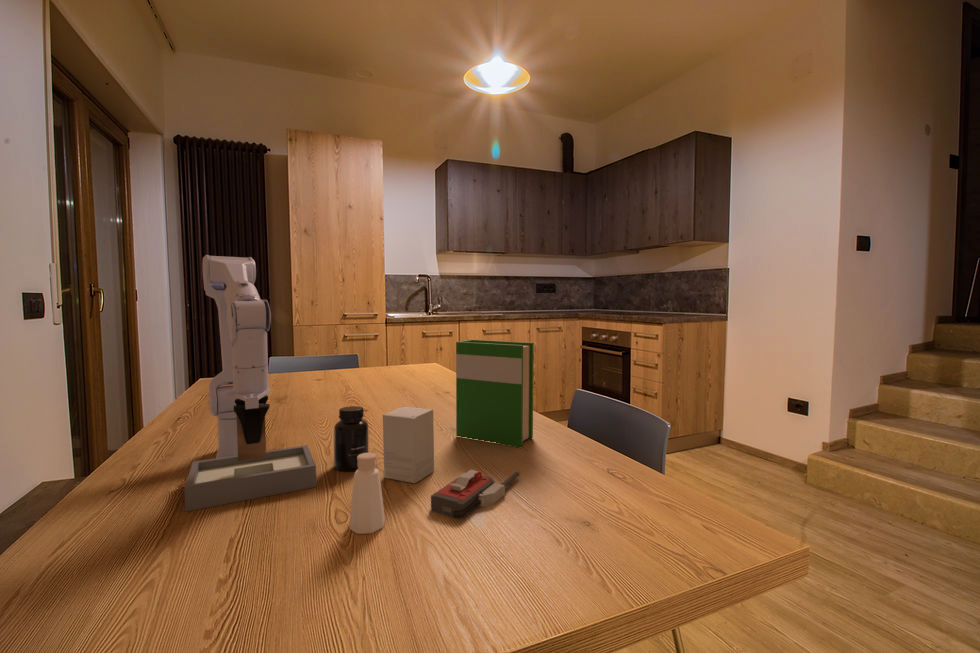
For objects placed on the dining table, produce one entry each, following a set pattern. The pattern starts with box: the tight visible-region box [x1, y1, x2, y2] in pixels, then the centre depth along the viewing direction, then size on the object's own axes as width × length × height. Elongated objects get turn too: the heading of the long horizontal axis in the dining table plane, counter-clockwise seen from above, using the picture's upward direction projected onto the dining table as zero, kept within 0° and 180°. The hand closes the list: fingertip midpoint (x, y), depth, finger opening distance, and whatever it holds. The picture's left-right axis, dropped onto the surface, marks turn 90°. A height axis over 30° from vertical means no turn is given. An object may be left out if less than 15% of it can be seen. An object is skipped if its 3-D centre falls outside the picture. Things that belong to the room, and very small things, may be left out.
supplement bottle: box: [333, 405, 370, 472], centre depth 92 cm, size 7×7×12 cm
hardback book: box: [455, 339, 535, 448], centre depth 110 cm, size 18×7×24 cm, turn 63°
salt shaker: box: [348, 452, 386, 535], centre depth 68 cm, size 5×5×11 cm
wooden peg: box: [236, 403, 267, 461], centre depth 82 cm, size 4×4×9 cm
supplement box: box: [382, 406, 435, 484], centre depth 87 cm, size 7×7×13 cm
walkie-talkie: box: [430, 469, 520, 520], centre depth 78 cm, size 9×4×20 cm
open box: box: [184, 444, 317, 512], centre depth 82 cm, size 13×20×4 cm, turn 119°
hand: (252, 439), depth 82 cm, fingers closed on wooden peg, 4 cm apart
